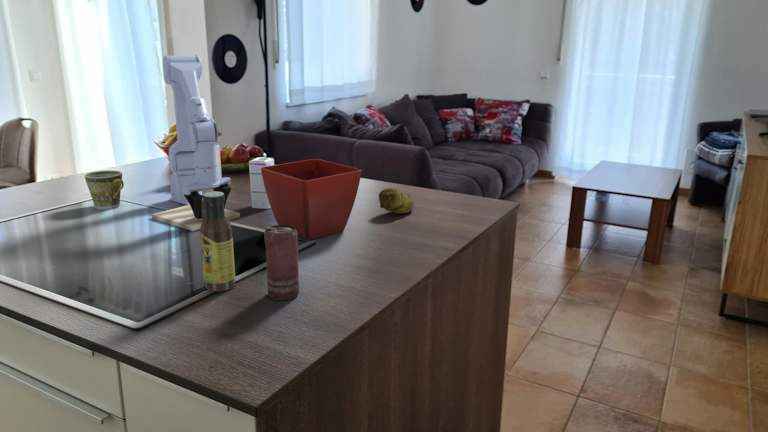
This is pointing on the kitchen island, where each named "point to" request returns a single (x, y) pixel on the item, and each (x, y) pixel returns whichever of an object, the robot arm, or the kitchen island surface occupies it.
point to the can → (282, 262)
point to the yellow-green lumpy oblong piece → (395, 201)
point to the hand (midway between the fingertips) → (209, 214)
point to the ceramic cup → (105, 188)
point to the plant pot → (311, 195)
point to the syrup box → (259, 182)
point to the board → (187, 217)
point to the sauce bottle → (217, 245)
